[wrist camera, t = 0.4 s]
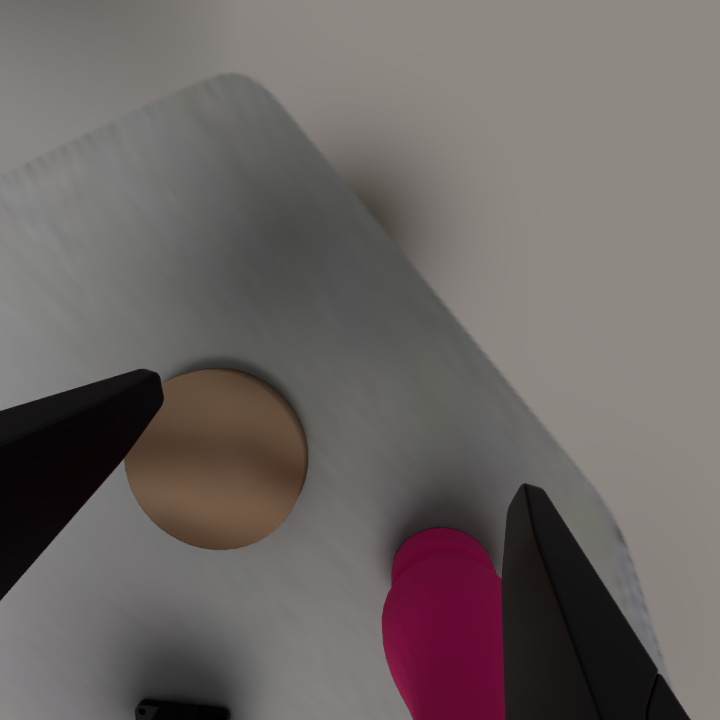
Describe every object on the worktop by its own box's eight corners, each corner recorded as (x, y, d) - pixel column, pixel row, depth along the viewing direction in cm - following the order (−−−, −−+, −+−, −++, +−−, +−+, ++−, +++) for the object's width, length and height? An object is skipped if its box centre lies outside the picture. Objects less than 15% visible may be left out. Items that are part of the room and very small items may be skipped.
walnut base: (307, 542, 25) (302, 556, 23) (143, 530, 26) (128, 543, 24) (308, 370, 24) (302, 374, 22) (136, 365, 25) (119, 368, 23)
